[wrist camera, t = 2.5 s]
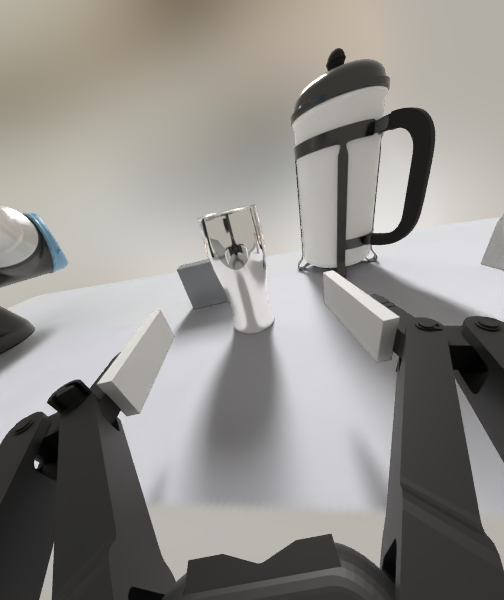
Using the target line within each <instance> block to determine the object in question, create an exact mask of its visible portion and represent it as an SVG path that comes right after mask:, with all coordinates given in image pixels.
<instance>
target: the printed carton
mask: <svg viewBox="0 0 504 600" xmlns="http://www.w3.org/2000/svg"><path fill="white" fill-rule="evenodd" d="M481 264H482V265H486V266H490V267H494V268H498V269H502V270H504V215H503V216H502V217H501V218H500V220H499V221H498V222H497V224H496V227H495V229H494V232H493V234H492V237H491V239H490V242H489V244H488V247H487V249H486V252H485V254H484V257H483V259H482V262H481Z"/></svg>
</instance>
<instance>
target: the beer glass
mask: <svg viewBox="0 0 504 600" xmlns="http://www.w3.org/2000/svg"><path fill="white" fill-rule="evenodd" d="M198 221H199V225H200V229H201V233H202V237H203V241H204V245H205V249H206V252H207V255H208V258H209V261H210V264H211V266H212V269H213V271H214V273H215V275H216V277H217V279H218V281H219V283H220V285H221V287H222V288H223V290H224V292H225V294H226V296H227V298H228V300H229V302H230V305H231V308H232V312H233V322H234V327H235V328H236V330H238V331H239V332H242V333H246V334H252V333H258V332H261V331H263V330H265V329H267V328H268V327H269V326H270V325H271V324H272V323H273V321H274V314H273V311H272V309H271V307H270V304H269V301H268V297H267V263H266V251H265V243H264V238H263V233H262V229H261V225H260V221H259V217H258V214H257V210H256V205H255V204H252V205H246V206H243V207H237V208H233V209H229V210H225V211H221V212H217V213H213V214H209V215H206V216H202V217H199V218H198Z"/></svg>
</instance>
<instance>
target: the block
mask: <svg viewBox="0 0 504 600" xmlns="http://www.w3.org/2000/svg"><path fill="white" fill-rule="evenodd" d="M177 271H178V273H179V276H180V278H181V280H182V283H183V285H184V287H185V290H186V292H187V294H188V297H189V299H190V301H191V304H192V306H193V308H194V309H198V308H202V307H206V306H211V305H215V304H220V303H224V302H228V301H229V300H228V298H227V296H226V294H225V292H224V290H223V288H222V287H221V285H220V283H219V281H218V279H217V277H216V275H215V273H214V271H213V269H212V266H211V264H210V261H209V259H207V260H203V261H198V262H194V263H190V264H185V265H181V266H180V267H179V268H178V269H177Z"/></svg>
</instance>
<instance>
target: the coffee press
mask: <svg viewBox="0 0 504 600" xmlns="http://www.w3.org/2000/svg"><path fill="white" fill-rule="evenodd" d="M345 58H346V56H345V54H344V51H343V50H342V49H340V48H337V49H335V50H334V51H333V52H332V53H331V54H330V56H329V58H328V62H327V65H326V67H327V70H328V72H326V73H325V74H323V75H321V76H320V77H318V78H317V79H316V80H314V81H313V82H312V83H311V84H309V85H308V86H307V87H306V88H305V89H304V91H303V92H302V93H301V95H300V96H299V98H298V99H297V102H296V104H295V108H294V113H293V115H292V117H291V126H292V127H293V129H294V132H295V143H296V147H295V148H294V151H295V163H296V162H297V166H296V173H297V171H298V178H297V184H298V183H299V190H298V199H299V197H300V203H299V209H300V210H301V216H300V225H301V223H302V229H301V237H302V235H303V242H302V243H303V244H302V246H303V247H302V248H304V257H305V260H306V261H307V262H308V263H307V264H306V265H305V266H304V267H299V265H300V263H301V262H302V260H303V255H302V258H301V260H300V261H299V263H298V269H299V270H304V269H305V268H306V267H307V266H308V265H310V264H311V265H313V266H317V267H323V268H335V269H336V273H338V274H339V275H340V276H342V277H343V278H346V268H345V266H349V265H353V264H356V263H358V262H360V261H362V260H363V259H367V260H368V261H370V262H374V261H375V260H376V259H377V255H376V254H375V253H374V251H373V250H372V245H386V244H391V243H395V242H397V241H399V240H401V239H402V238H404V237H406V236H407V235H408V234H409V233H410V232H411V231H412V230H413V228H414V227H415V225H416V224H417V222H418V219H419V217H420V214H421V210H422V206H423V202H424V198H425V193H426V188H427V184H428V178H429V174H430V169H431V164H432V158H433V152H434V145H435V127H434V124H433V121H432V119H431V117H430V115H429V114H428V113H427V112H426V111H425V110H423V109H420V108H402V109H397V110H395V111H392V112H391V114H388V115H386V116H384V117H383V112H384V102H385V96H386V95H387V92H388V90H389V86H390V78H389V77H388V76H386V73H385V69H384V67H383V66H382V64H381V63H379V62H377V61H375V60H370V59H364V60H357V61H353V62H349V63H346V64H344V61H345ZM396 128H404V129H406V130H407V131H409V133H410V134H411V137H412V140H413V155H412V162H411V168H410V174H409V181H408V187H407V193H406V198H405V204H404V210H403V215H402V219H401V222H400V224H399V225H398V227H397V228H396V229H395V230H394V231H392V232H390V233H373V224H374V213H375V203H376V192H377V183H378V173H379V163H380V152H381V138H382V136H383V132H384V131H387V130H393V129H396ZM296 175H297V174H296ZM297 187H298V185H297ZM300 210H299V211H300ZM299 213H300V212H299ZM370 250H371V251H372V252H373V253H374V257H373V258H372V259H368V258H366V257H367V256H368V254H369V252H370ZM302 252H303V249H302Z"/></svg>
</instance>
